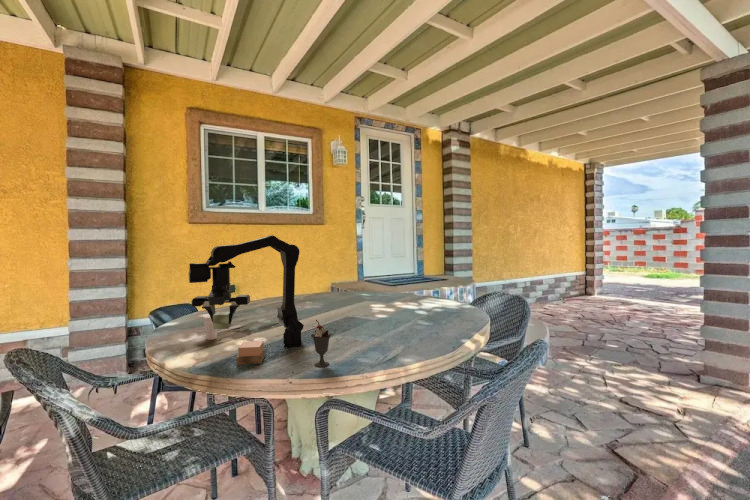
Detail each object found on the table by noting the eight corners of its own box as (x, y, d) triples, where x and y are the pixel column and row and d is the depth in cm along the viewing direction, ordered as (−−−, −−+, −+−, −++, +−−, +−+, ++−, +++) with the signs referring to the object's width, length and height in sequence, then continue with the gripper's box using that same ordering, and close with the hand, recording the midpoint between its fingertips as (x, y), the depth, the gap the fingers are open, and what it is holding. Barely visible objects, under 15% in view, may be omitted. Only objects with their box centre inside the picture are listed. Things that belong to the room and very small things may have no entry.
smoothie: (213, 340, 151) (212, 307, 150) (199, 340, 152) (198, 306, 152) (223, 336, 157) (222, 304, 157) (209, 336, 159) (208, 304, 158)
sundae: (312, 361, 125) (311, 318, 124) (332, 361, 126) (331, 317, 125) (310, 368, 119) (309, 323, 118) (331, 367, 119) (330, 322, 118)
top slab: (263, 349, 131) (263, 341, 131) (259, 355, 124) (259, 346, 124) (243, 350, 130) (243, 341, 130) (238, 356, 123) (238, 347, 123)
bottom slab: (265, 356, 132) (264, 348, 132) (261, 364, 124) (261, 355, 124) (242, 357, 131) (241, 349, 131) (236, 365, 123) (236, 357, 123)
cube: (231, 325, 134) (231, 311, 134) (228, 328, 129) (227, 314, 129) (217, 325, 133) (216, 312, 133) (213, 329, 128) (212, 315, 128)
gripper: (185, 284, 121) (186, 331, 122) (243, 283, 124) (244, 328, 125) (196, 280, 132) (197, 323, 133) (250, 279, 135) (251, 321, 136)
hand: (222, 324), depth 131 cm, fingers closed on cube, 5 cm apart
